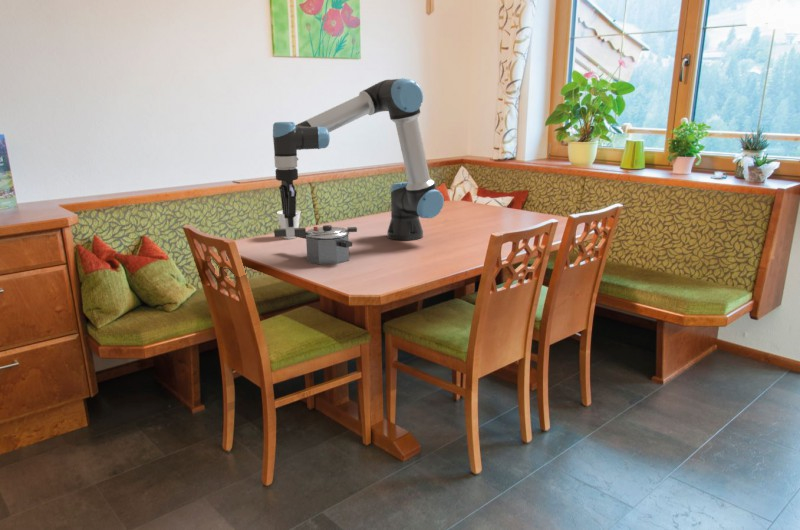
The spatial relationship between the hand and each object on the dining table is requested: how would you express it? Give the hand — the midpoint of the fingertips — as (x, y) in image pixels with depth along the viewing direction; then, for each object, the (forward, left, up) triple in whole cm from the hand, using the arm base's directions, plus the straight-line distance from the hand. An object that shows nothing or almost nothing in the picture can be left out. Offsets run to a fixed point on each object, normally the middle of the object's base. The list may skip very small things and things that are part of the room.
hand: (290, 235), depth 213 cm
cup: (+19, -38, -11) cm, 44 cm away
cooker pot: (-7, -11, -10) cm, 16 cm away
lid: (-6, -8, -1) cm, 10 cm away
